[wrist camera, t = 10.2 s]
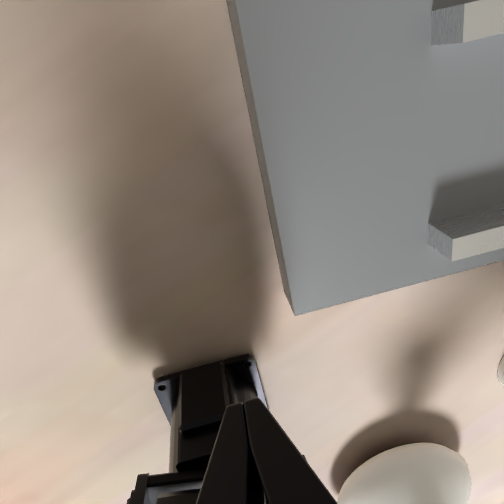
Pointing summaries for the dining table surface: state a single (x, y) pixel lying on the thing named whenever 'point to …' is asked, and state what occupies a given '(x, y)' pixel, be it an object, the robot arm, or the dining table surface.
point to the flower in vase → (410, 477)
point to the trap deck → (367, 139)
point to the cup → (501, 372)
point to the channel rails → (488, 219)
